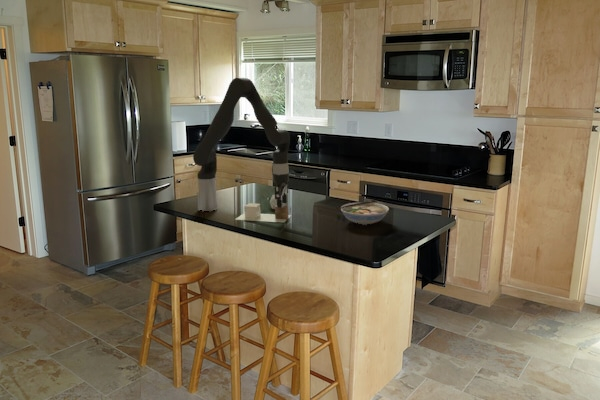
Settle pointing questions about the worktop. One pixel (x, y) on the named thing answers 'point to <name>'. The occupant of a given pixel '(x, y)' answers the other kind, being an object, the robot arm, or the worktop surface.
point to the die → (274, 202)
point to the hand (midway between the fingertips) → (282, 205)
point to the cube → (252, 211)
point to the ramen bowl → (364, 212)
